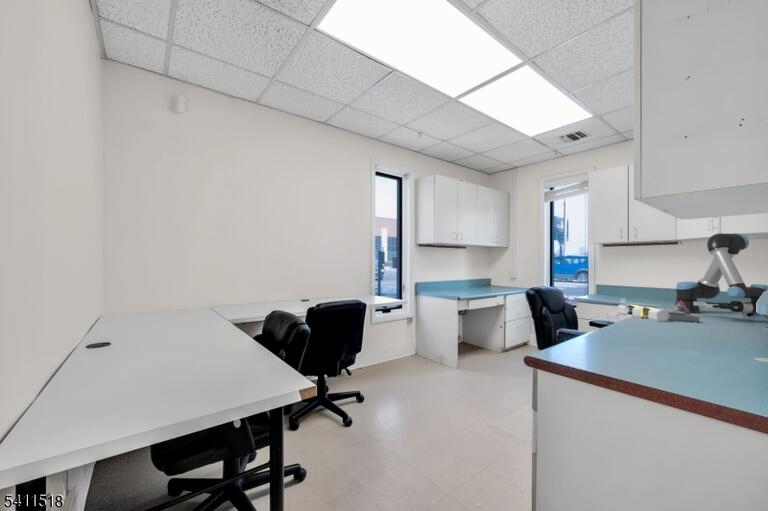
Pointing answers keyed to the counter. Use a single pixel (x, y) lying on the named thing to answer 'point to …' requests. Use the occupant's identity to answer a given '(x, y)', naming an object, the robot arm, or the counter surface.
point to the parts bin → (682, 317)
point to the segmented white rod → (643, 311)
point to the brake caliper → (679, 308)
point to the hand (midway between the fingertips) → (699, 304)
